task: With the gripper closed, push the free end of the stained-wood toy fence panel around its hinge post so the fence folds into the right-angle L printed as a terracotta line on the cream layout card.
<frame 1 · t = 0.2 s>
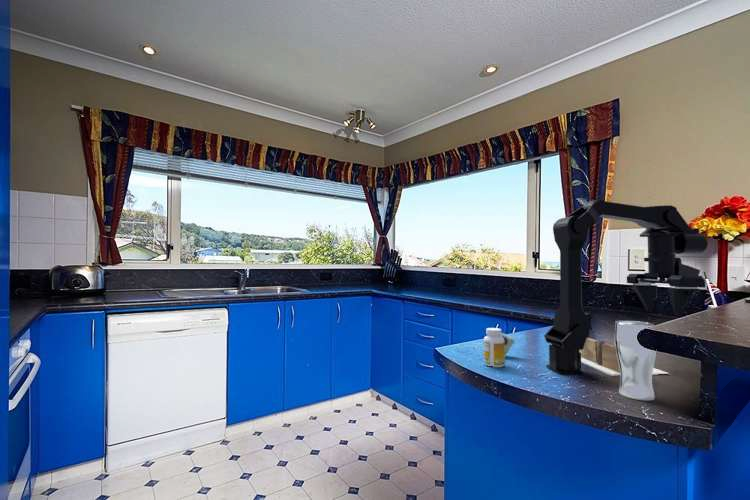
hand: (663, 312, 93), 14 cm above the worktop, fingers open, 9 cm apart
pig figurine: (502, 356, 105), on the worktop
fixed fence: (601, 366, 94), resting on layout card
fence panel: (585, 347, 100), point 4 cm above the worktop, hinge at 0.0°
supplement bottle: (494, 365, 96), on the worktop
beer glass: (636, 396, 73), on the worktop
layout card: (613, 364, 95), on the worktop
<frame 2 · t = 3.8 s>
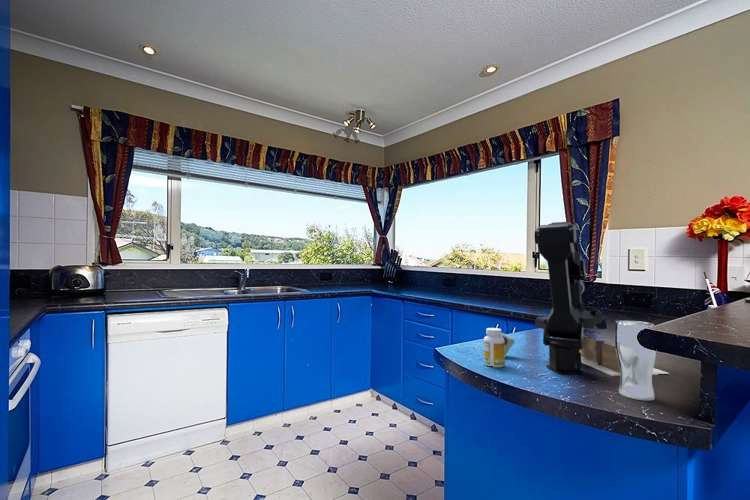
hand: (571, 352, 102), 2 cm above the worktop, fingers closed
fence panel: (586, 347, 100), point 4 cm above the worktop, hinge at 0.3°, touching gripper
everything else where it was.
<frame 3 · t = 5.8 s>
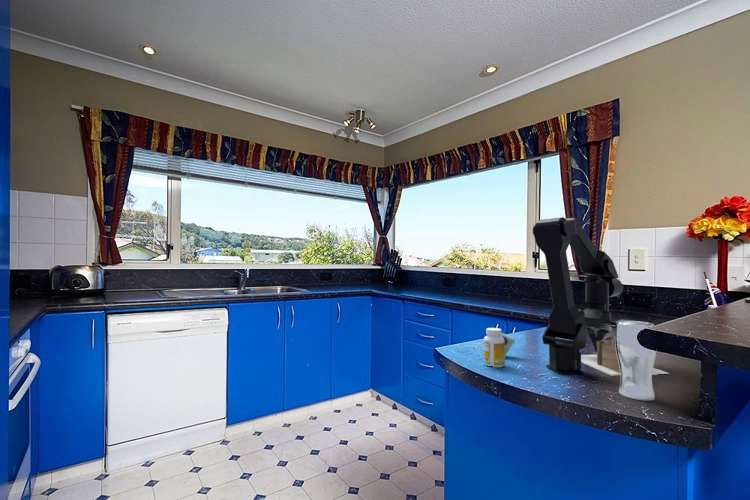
hand: (596, 352, 102), 2 cm above the worktop, fingers closed
fence panel: (607, 349, 98), point 4 cm above the worktop, hinge at 51.2°, touching gripper
everything else where it was.
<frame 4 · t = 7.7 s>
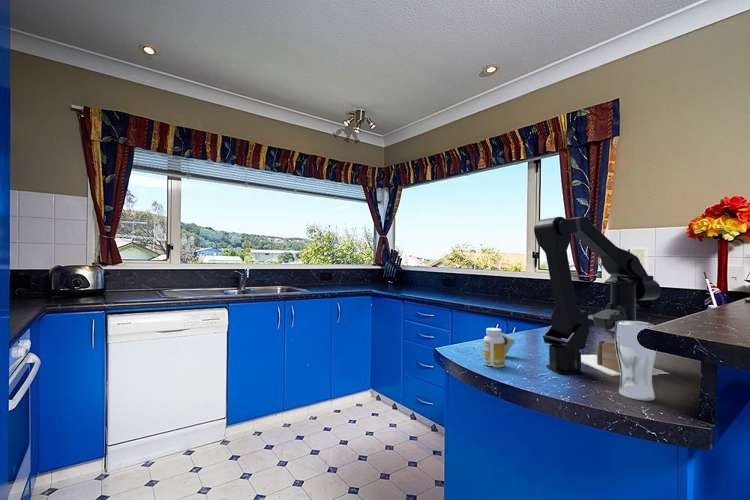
hand: (622, 357, 97), 2 cm above the worktop, fingers closed
fence panel: (625, 353, 93), point 4 cm above the worktop, hinge at 99.4°, touching gripper
everything else where it was.
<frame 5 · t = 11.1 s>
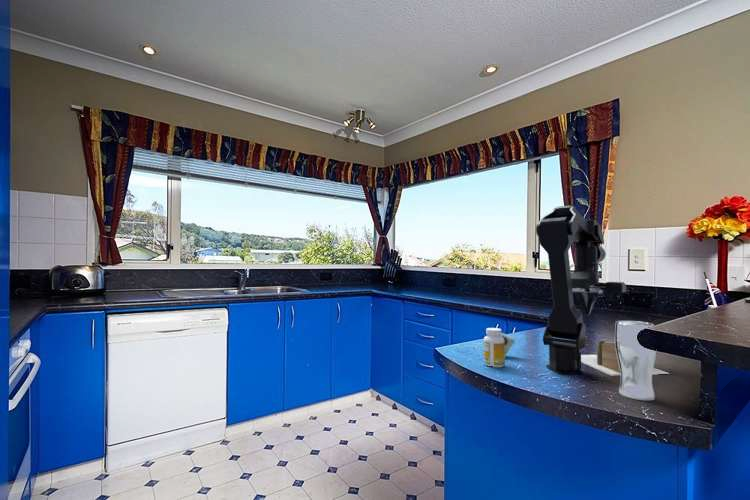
hand: (587, 314, 106), 12 cm above the worktop, fingers closed
fence panel: (625, 353, 93), point 4 cm above the worktop, hinge at 99.4°
everything else where it was.
at the end: fence panel at +99° (first picture: +0°); beer glass moved 0.2 cm from its start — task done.
